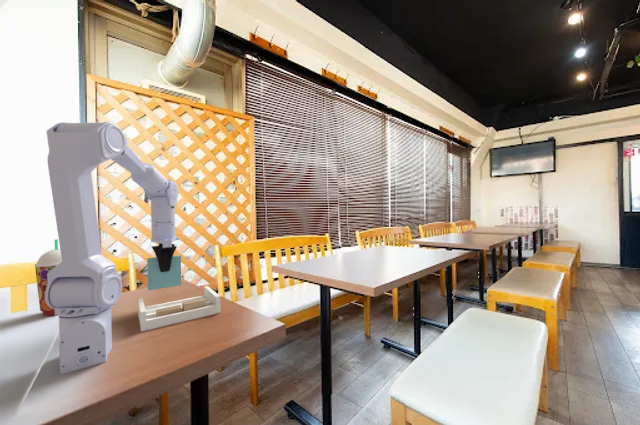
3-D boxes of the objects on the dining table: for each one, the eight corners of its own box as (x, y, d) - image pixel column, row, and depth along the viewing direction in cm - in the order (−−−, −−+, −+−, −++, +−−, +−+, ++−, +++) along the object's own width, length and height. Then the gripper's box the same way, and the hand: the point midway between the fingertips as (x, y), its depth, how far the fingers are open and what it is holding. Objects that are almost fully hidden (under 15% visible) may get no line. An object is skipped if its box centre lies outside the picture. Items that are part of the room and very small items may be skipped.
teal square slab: (181, 285, 77) (180, 255, 77) (148, 290, 72) (147, 259, 72) (180, 284, 78) (179, 255, 78) (147, 289, 74) (147, 258, 73)
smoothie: (72, 304, 80) (70, 237, 79) (83, 309, 75) (81, 238, 75) (31, 314, 72) (29, 240, 72) (41, 320, 68) (39, 241, 68)
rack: (220, 315, 69) (220, 296, 69) (141, 335, 59) (140, 312, 59) (208, 303, 78) (208, 286, 78) (138, 318, 68) (137, 298, 68)
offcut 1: (181, 319, 65) (181, 307, 65) (157, 325, 62) (157, 312, 62) (179, 317, 66) (179, 304, 66) (156, 322, 63) (156, 309, 63)
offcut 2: (205, 313, 68) (205, 300, 68) (184, 318, 65) (183, 304, 65) (203, 311, 70) (203, 298, 70) (182, 316, 67) (182, 302, 67)
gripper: (184, 222, 72) (185, 273, 72) (175, 221, 83) (176, 265, 83) (153, 223, 67) (154, 277, 68) (148, 222, 79) (149, 268, 79)
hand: (164, 270), depth 75 cm, fingers closed on teal square slab, 2 cm apart
